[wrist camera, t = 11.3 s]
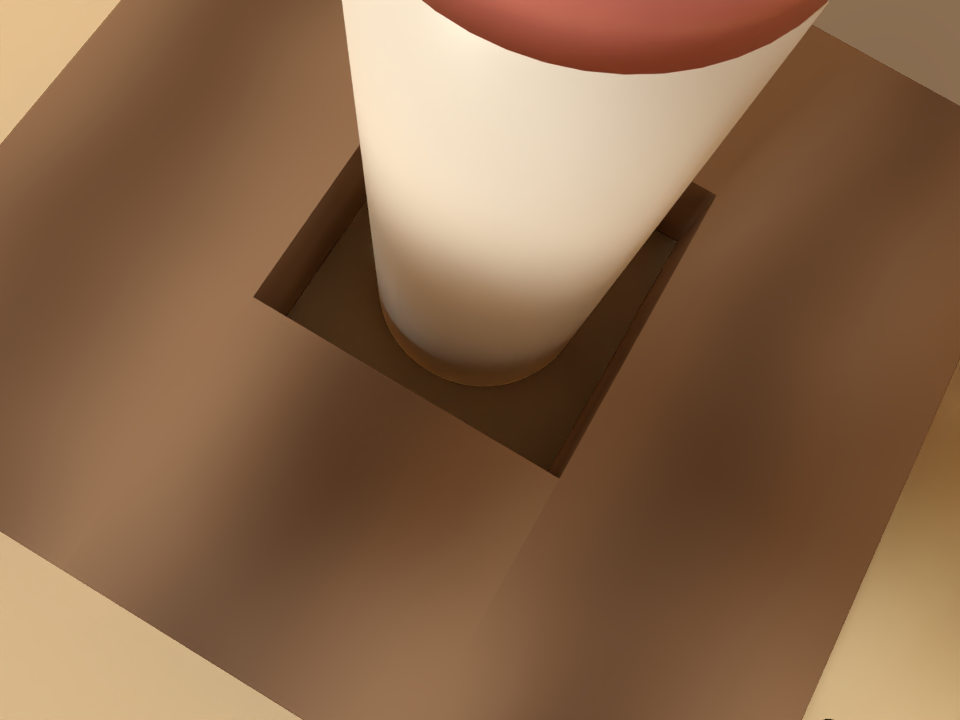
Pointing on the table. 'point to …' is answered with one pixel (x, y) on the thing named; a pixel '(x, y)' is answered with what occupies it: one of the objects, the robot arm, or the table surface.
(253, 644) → the jig plate
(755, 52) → the post
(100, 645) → the table surface
